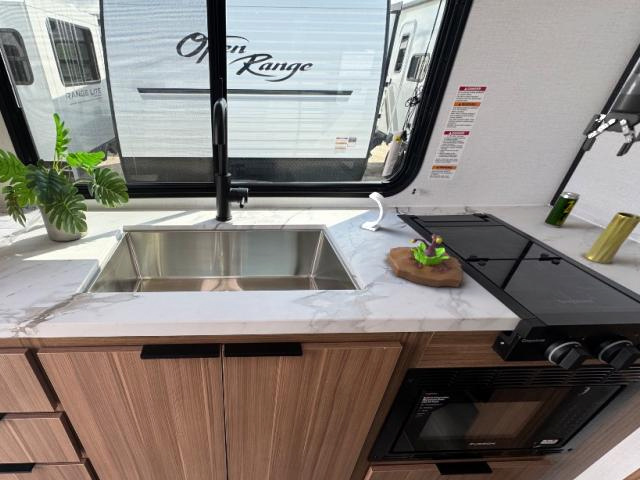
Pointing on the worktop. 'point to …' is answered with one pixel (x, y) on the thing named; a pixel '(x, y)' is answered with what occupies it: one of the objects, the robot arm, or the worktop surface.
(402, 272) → the plant
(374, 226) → the headphone stand
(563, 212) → the beer can
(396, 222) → the worktop surface
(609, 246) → the vase
